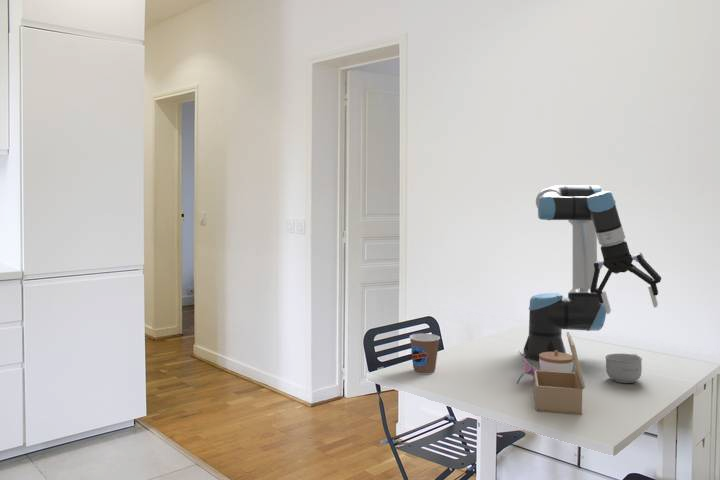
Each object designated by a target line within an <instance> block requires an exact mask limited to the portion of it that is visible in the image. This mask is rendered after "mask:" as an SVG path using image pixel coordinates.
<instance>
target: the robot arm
mask: <svg viewBox="0 0 720 480" xmlns="http://www.w3.org/2000/svg"><path fill="white" fill-rule="evenodd" d="M535 205H536V208H537V217H538V219H539V220H544V221H568V223H570V225H572V226H571V227H572V288H571V290H569V292H568V293H567V297H564V296H563V294H562V293H560V292H559V293H558V292H546V293H540V294H539V293H538V294H535V295H533V296H531V297H530V300H529V306H528V311H529V317H528V318H529V321H528V336H527V339H526V342H525V345H524V347H523V356H524V357H526V358H528V359H530V360H535V361H539V354H540V353H543V352H555V350H557V351H558V352H562V353H566V354H567V351H566V348H565V347H566V346H565V344H564V341H563V338H562V334H563V333H562V331H563V330H570V331H587V332H590V331H593V332H594V331H595V332H596V331H600V330H602V329H603V327H604V325H605V322H606V321H605V320H606V317H607V315H609V314H610V313H611V312H612V309H611V307H610V306H611V305H610V303H609V299H608V296H607V291H606V290H604V288H605V286H606V284H607V282H608V281H609V279H610V277H611V275H612V274H616V275H617V274H619V273H626V272H628V271H629V272H630V273H632V274H634V275H635V276H636V277H638V278H640V279H641V280H642V281H644V282H645V283H646V284H648V286H647V288H648V291H649V296H650V298H651V303H652V306H653V308H654V309H655V308H657V307H658V305H659V303H658V299H657V296H658V294H659V290H658V287H657V284H659V283H661V281H662V277H661V276H660V274H658V272H657V271H656V270H655V269H654V268H653V267H652V266H651V265H650V264H649V262H647V260H645V257H644V256H643V254H642V252H638V253H637V254H635V255H631V253H630V250H629V245H628V242H627V241H626V235H625V232H624V228H623V226H622V223H621V219H620V215H619V212H618V208H617V205H616V200H615V198H614V195H613V193H612V191H611V190H610V191H609V190H607V191H604V189H603V188H602V187H601V186H599V185H591V184H579V185H577V184H576V185H574V184H573V185H568V184H567V185H564V184H560V185H559V184H558V185H553V186H550V187H546V188H545V189H542V190H541V191H540V192H539V193H537V196H536V199H535ZM598 244H599V245H600V247H599V248H600V252H601V255H602V258H603V260H602V261H600V260H598ZM633 261H635V262H637V263H639V265H640V266H641V267H642V268H643V269H644V270H645V271H646V272H647V273H645V272H644V271H642V270H641V269H639V268H638V267H637V266H636V265H634V264H633ZM603 267H605V268H607V272H606V273H605V276H604V277H603V279H602V280H601V282H600V285H599V286H598V280H599V277H600V273H601V269H602V268H603Z"/></svg>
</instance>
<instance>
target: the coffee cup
mask: <svg viewBox="0 0 720 480" xmlns="http://www.w3.org/2000/svg"><path fill="white" fill-rule="evenodd" d="M408 338H409V340H410V347H411V348H410V349H411V352H410V353H411V359H412V360H411V361H412V368H413V371H414V373H415V374H418V375H424V374H425V376H426V375H432V374H434V373H435V371H436V366H437V360H438V359H437V358H438V351H439V345H440V344H439V343H440V339H441V337H440V336H439V335H437V334H432V333H414V334H410V335H409V337H408Z"/></svg>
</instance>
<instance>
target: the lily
mask: <svg viewBox="0 0 720 480" xmlns="http://www.w3.org/2000/svg"><path fill="white" fill-rule="evenodd" d="M518 353H519V354H520V355H521V357H522V358H523V360H524V361H522V364H523V373H522V374H521V375H520V377H519V378H518V380H517V382H516V384H518V383H520V380H521V379H522V377H523V376H524V375H530V376H533V377H534V370H537V371H539V370H538V369H537V368H536V366H535V365H531V364H530V363H529V361H528V360H527V359H526V358H525V356H524V354H523V353H522V352H521V351H520V350H518Z"/></svg>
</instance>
